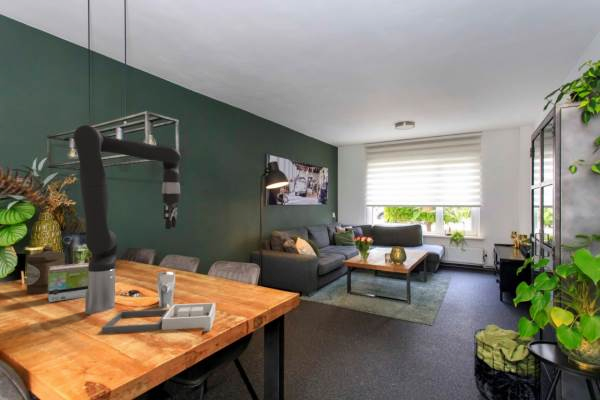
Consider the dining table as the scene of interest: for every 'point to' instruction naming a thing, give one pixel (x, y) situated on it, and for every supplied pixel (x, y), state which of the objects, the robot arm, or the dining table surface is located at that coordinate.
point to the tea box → (67, 281)
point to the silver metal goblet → (166, 288)
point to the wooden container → (41, 269)
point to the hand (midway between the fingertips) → (170, 228)
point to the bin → (189, 321)
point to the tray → (131, 328)
